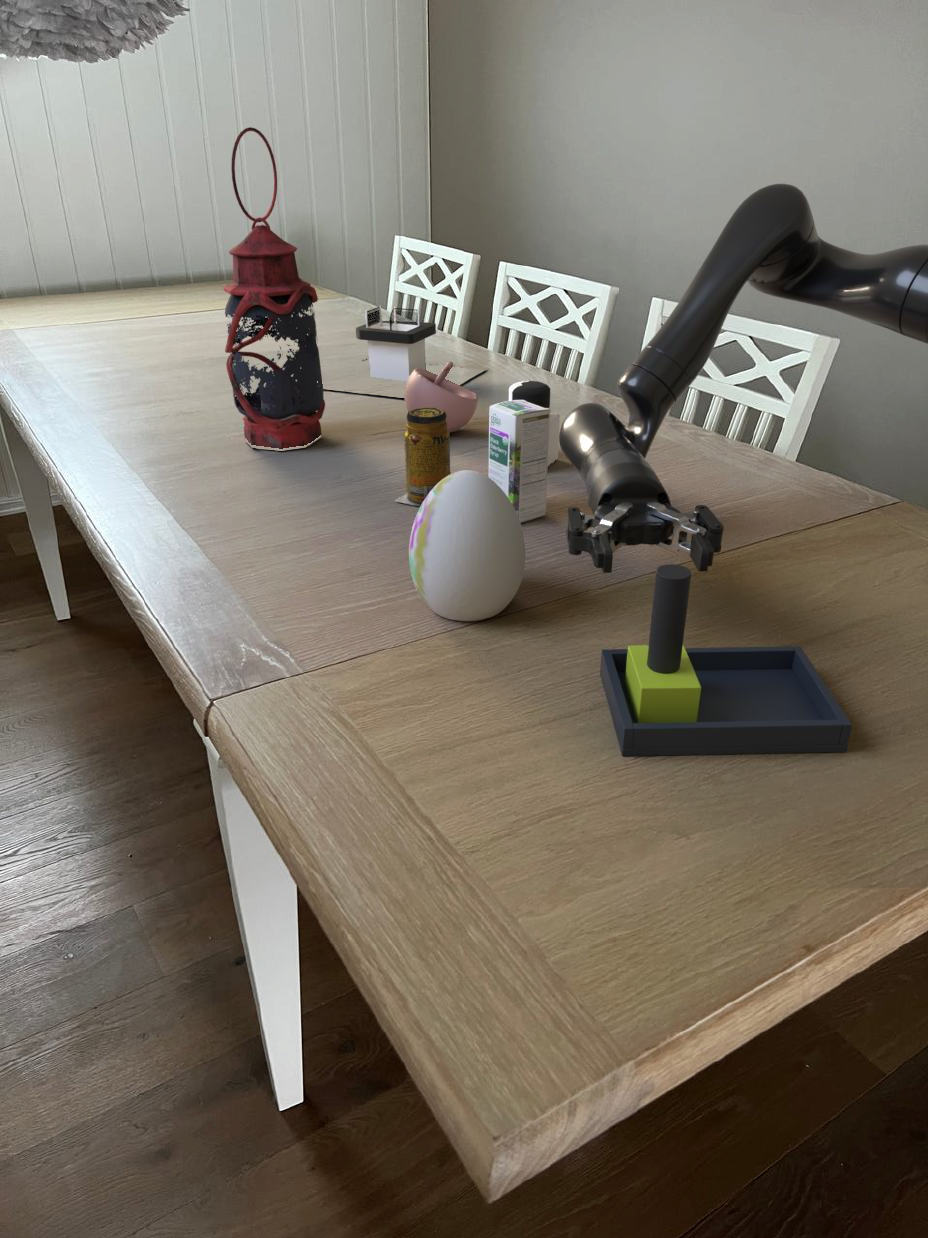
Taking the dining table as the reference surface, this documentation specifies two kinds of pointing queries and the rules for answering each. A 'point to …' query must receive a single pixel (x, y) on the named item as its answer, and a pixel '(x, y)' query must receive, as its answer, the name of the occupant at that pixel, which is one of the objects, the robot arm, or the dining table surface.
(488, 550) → the decorative egg
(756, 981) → the dining table surface
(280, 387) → the lantern
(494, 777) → the dining table surface
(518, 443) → the syrup box
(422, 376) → the mortar and pestle
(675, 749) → the tray
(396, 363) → the black-topped pedestal
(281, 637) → the dining table surface
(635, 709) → the sponge wand
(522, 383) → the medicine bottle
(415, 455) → the condiment
